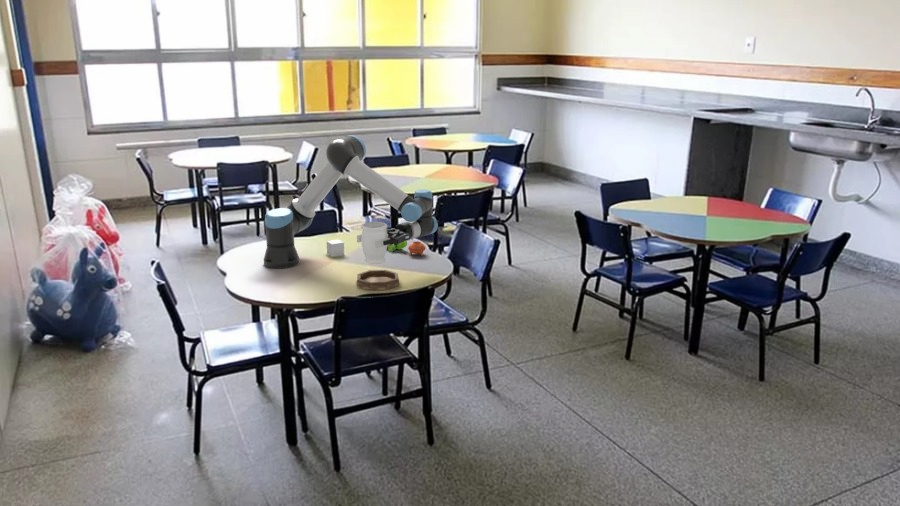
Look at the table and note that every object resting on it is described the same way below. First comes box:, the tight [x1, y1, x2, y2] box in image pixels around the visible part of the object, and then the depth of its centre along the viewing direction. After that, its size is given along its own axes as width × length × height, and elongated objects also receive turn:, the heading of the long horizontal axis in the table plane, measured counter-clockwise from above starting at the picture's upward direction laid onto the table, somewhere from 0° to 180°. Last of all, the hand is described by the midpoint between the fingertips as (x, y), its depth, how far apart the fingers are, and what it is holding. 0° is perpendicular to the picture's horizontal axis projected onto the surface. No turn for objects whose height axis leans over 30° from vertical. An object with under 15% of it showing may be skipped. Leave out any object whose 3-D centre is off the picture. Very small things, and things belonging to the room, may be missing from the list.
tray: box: [355, 269, 400, 291], centre depth 278 cm, size 17×17×3 cm
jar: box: [360, 221, 388, 265], centre depth 273 cm, size 11×10×15 cm
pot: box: [407, 240, 426, 257], centre depth 315 cm, size 8×8×7 cm
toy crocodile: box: [387, 238, 408, 252], centre depth 325 cm, size 20×7×6 cm, turn 50°
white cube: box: [326, 239, 345, 257], centre depth 314 cm, size 6×6×6 cm
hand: (366, 241), depth 270 cm, fingers closed on jar, 10 cm apart
